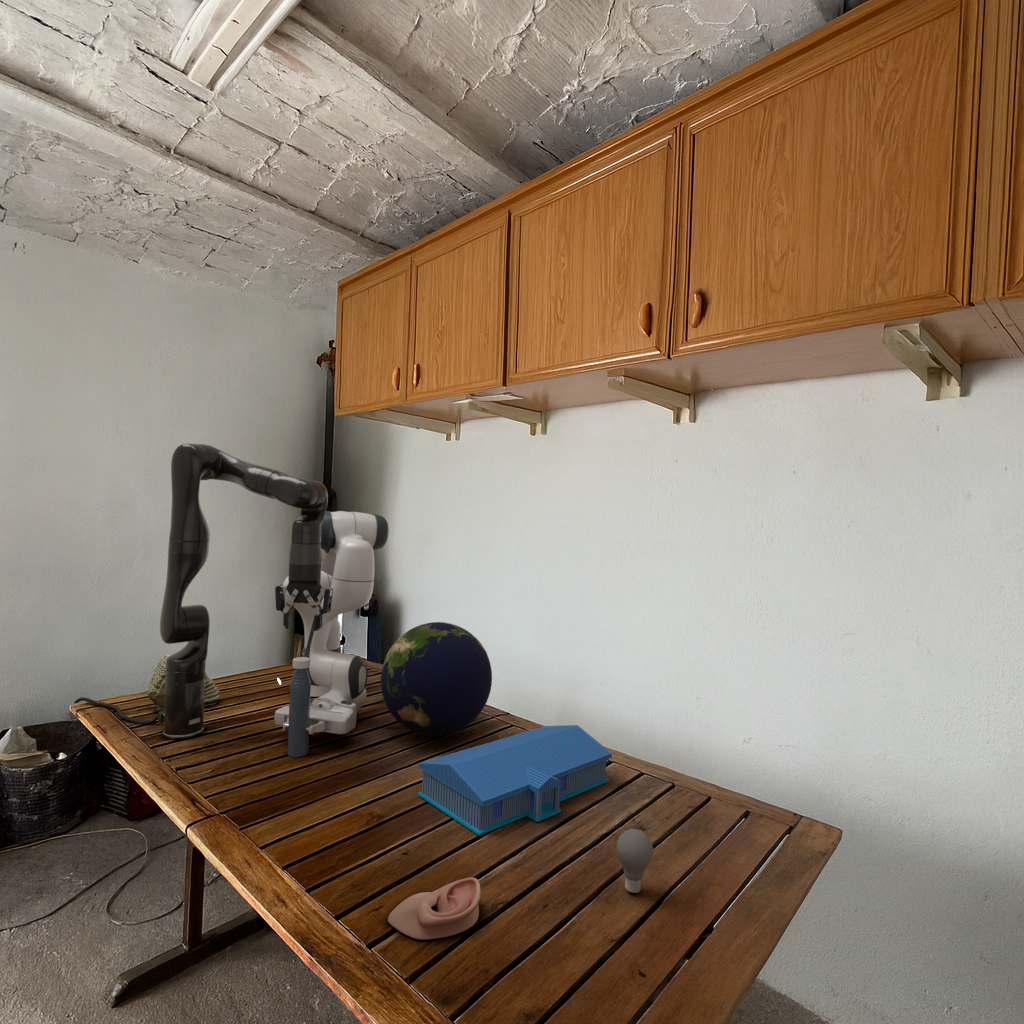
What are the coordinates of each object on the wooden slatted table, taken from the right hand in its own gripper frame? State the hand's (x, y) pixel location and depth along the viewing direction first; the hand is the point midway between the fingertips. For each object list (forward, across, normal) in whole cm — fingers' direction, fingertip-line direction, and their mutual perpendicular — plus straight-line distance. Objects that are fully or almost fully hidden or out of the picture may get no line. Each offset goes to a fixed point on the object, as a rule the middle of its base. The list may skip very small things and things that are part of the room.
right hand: (296, 729), depth 155 cm
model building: (0, +57, +6) cm, 57 cm away
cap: (-1, 0, -17) cm, 17 cm away
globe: (-25, +26, +6) cm, 37 cm away
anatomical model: (+46, +54, +6) cm, 71 cm away
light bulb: (+30, +83, +6) cm, 88 cm away
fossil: (-19, -49, +6) cm, 53 cm away
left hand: (-1, 0, -24) cm, 25 cm away
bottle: (-1, 0, +6) cm, 6 cm away
